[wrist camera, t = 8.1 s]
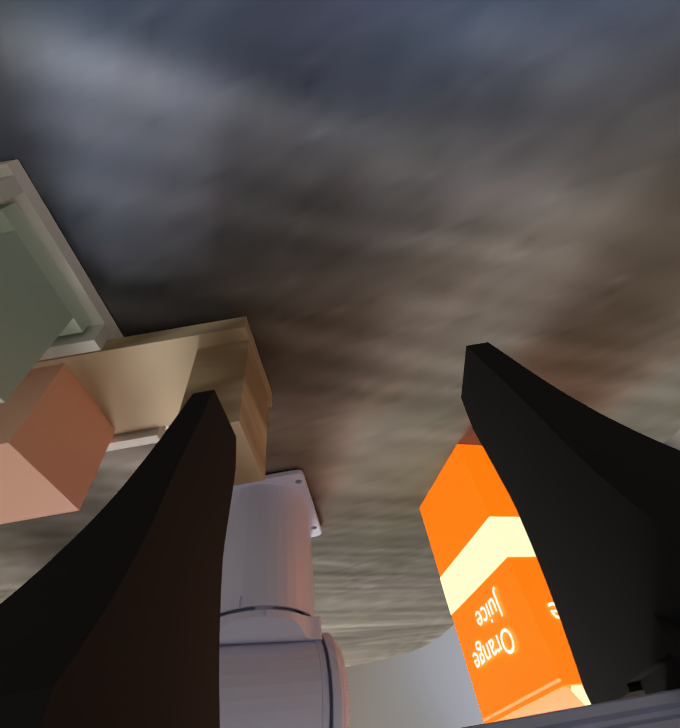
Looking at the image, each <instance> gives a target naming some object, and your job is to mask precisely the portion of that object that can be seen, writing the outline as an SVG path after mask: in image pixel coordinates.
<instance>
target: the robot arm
mask: <svg viewBox="0 0 680 728" xmlns="http://www.w3.org/2000/svg"><path fill="white" fill-rule="evenodd" d="M461 398H462V401H463V404H464V407H465V409H466V412H467V415H468V417H469V420H470V422H471V425H472V427H473V429H474V431H475V433H476V435H477V437H478V439H479V441H480V442H481V444H482V446H483V448H484V450H485V452H486V454H487V455H488V457H489V459H490V461H491V463H492V464H493V466H494V468H495V470H496V472H497V474H498V475H499V477H500V479H501V481H502V483H503V484H504V486H505V488H506V490H507V492H508V494H509V496H510V498H511V500H512V502H513V504H514V506H515V508H516V510H517V512H518V514H519V517H520V519H521V521H522V524H523V526H524V528H525V531H526V533H527V536H528V538H529V540H530V543H531V545H532V548H533V550H534V553H535V555H536V558H537V560H538V563H539V565H540V568H541V570H542V573H543V575H544V578H545V580H546V583H547V586H548V588H549V591H550V594H551V596H552V599H553V602H554V604H555V607H556V610H557V612H558V615H559V618H560V620H561V623H562V626H563V629H564V632H565V635H566V638H567V641H568V644H569V646H570V649H571V652H572V655H573V658H574V661H575V664H576V667H577V670H578V673H579V676H580V679H581V682H582V685H583V688H584V690H585V693H586V695H587V697H588V699H589V701H590V703H591V705H585V706H580V707H574V708H569V709H563V710H558V711H552V712H547V713H541V714H535V715H530V716H524V717H519V718H513V719H508V720H502V721H496V722H491V723H485V724H480V725H474V726H469V727H463V728H680V450H677V449H675V448H672V447H670V446H668V445H665V444H663V443H661V442H658V441H656V440H654V439H651V438H649V437H647V436H645V435H643V434H640V433H638V432H636V431H634V430H632V429H630V428H628V427H626V426H624V425H622V424H620V423H618V422H616V421H614V420H612V419H610V418H608V417H606V416H604V415H602V414H600V413H598V412H597V411H595V410H593V409H591V408H589V407H588V406H586V405H584V404H582V403H581V402H579V401H577V400H575V399H574V398H572V397H570V396H568V395H567V394H565V393H564V392H562V391H560V390H559V389H557V388H555V387H554V386H552V385H551V384H549V383H547V382H546V381H544V380H543V379H541V378H540V377H538V376H537V375H535V374H534V373H532V372H531V371H529V370H528V369H526V368H525V367H523V366H522V365H520V364H519V363H517V362H516V361H515V360H513V359H512V358H510V357H509V356H507V355H506V354H504V353H503V352H501V351H500V350H499V349H497V348H496V347H494V346H493V345H491V344H489V343H488V342H487V343H481V344H475V345H469V346H466V355H465V365H464V375H463V385H462V395H461ZM235 471H236V435H235V433H234V431H233V429H232V427H231V424H230V422H229V420H228V418H227V416H226V413H225V411H224V409H223V407H222V405H221V403H220V400H219V398H218V396H217V394H216V392H215V390H209V391H203V392H198V393H193V394H192V396H191V397H190V398H189V400H188V401H187V402H186V404H185V405H184V407H183V408H182V409H181V411H180V412H179V414H178V415H177V416H176V418H175V419H174V421H173V422H172V423H171V425H170V426H169V428H168V429H167V430H166V432H165V433H164V435H163V436H162V437H161V439H160V440H159V441H158V443H157V444H156V445H155V447H154V448H153V449H152V451H151V452H150V453H149V455H148V456H147V457H146V459H145V460H144V461H143V462H142V463H141V465H140V466H139V467H138V468H137V470H136V471H135V472H134V473H133V475H132V476H131V477H130V478H129V480H128V481H127V482H126V483H125V484H124V486H123V487H122V488H121V489H120V490H119V491H118V493H117V494H116V495H115V496H114V497H113V498H112V499H111V501H110V502H109V503H108V504H107V505H106V506H105V507H104V508H103V509H102V510H101V511H100V512H99V513H98V514H97V516H96V517H95V518H94V519H93V520H92V521H91V522H90V523H89V524H88V525H87V526H86V527H85V528H84V529H83V530H82V531H81V532H80V533H79V534H78V535H77V536H76V537H75V538H74V539H73V540H72V541H70V542H69V543H68V544H67V545H66V546H65V547H64V548H63V549H62V550H61V551H60V552H59V553H58V554H57V555H56V556H55V557H54V558H53V559H52V560H51V561H49V562H48V563H47V564H46V565H45V566H44V567H43V568H42V569H41V570H40V571H38V572H37V573H36V574H35V575H34V576H33V577H32V578H31V579H29V580H28V581H27V582H26V583H25V584H24V585H23V586H21V587H20V588H19V589H18V590H17V591H15V592H14V593H13V594H12V595H11V596H10V597H8V598H7V599H6V600H5V601H4V602H2V603H1V604H0V728H348V726H349V698H348V685H347V676H346V670H345V664H344V660H343V656H342V653H341V650H340V648H339V646H338V645H337V644H336V642H335V641H334V639H333V637H332V636H331V635H330V634H329V633H322V632H321V618H320V617H313V611H314V588H313V570H312V551H311V537H314V536H319V535H320V534H321V533H322V531H321V526H320V523H319V520H318V517H317V514H316V511H315V507H314V504H313V501H312V498H311V495H310V492H309V489H308V486H307V482H306V479H305V476H304V473H303V471H301V470H292V471H286V472H280V473H275V474H269V475H265V480H264V481H258V482H253V483H247V484H241V485H235V486H233V485H234V479H235Z"/></svg>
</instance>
